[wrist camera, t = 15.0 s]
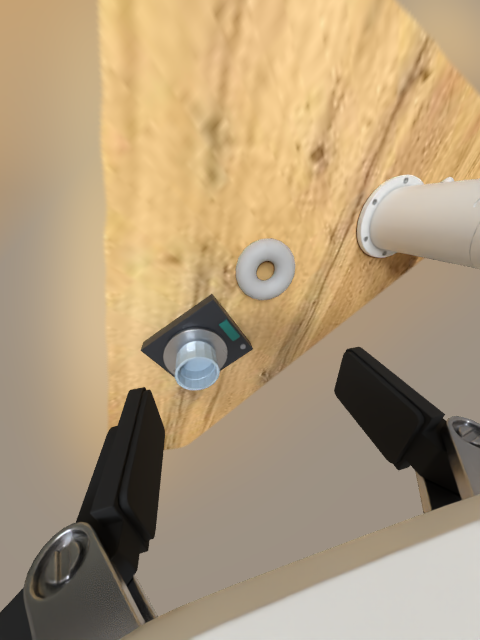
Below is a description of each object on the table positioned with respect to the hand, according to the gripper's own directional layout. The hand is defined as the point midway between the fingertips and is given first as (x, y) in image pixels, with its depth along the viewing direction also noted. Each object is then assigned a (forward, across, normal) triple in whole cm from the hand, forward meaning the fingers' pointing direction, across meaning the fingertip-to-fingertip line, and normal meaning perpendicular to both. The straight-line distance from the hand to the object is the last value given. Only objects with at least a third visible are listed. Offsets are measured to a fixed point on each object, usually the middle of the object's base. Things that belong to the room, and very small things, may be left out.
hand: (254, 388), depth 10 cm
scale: (+26, +3, +14) cm, 30 cm away
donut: (+26, -9, +2) cm, 28 cm away
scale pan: (+24, +4, +15) cm, 28 cm away
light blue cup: (+23, +4, +15) cm, 28 cm away
